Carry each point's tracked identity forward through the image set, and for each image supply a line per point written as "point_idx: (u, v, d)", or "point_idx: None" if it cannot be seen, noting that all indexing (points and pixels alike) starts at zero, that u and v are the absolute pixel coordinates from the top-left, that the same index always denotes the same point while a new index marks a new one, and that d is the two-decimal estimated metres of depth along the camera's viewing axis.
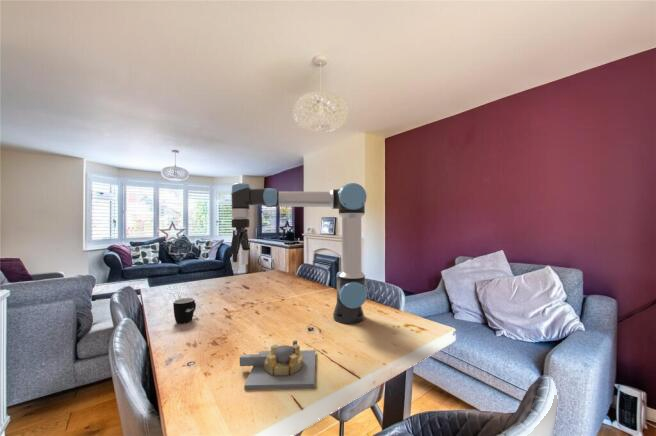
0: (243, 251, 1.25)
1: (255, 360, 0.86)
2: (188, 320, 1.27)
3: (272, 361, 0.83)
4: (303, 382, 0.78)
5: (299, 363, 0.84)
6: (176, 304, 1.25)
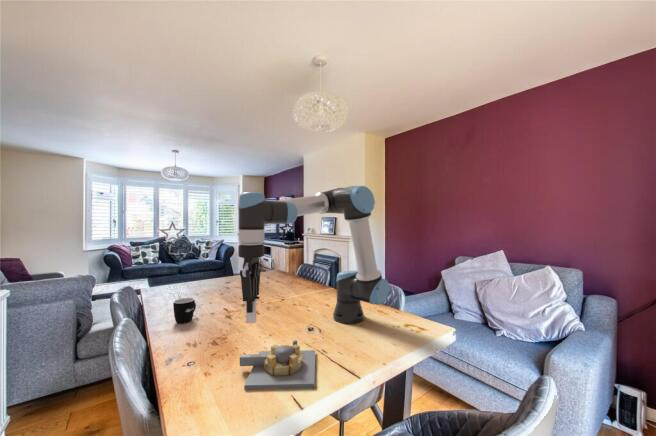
0: None
1: (255, 360, 0.86)
2: (188, 320, 1.27)
3: (272, 361, 0.83)
4: (303, 382, 0.78)
5: (299, 363, 0.84)
6: (176, 304, 1.25)
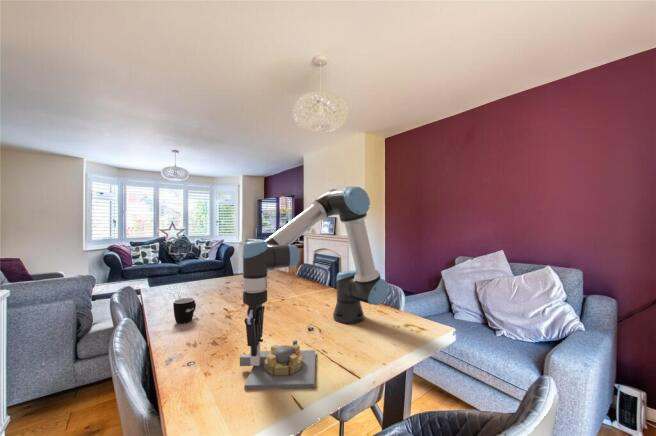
0: None
1: None
2: (188, 320, 1.27)
3: (272, 361, 0.83)
4: (303, 382, 0.78)
5: (299, 363, 0.84)
6: (176, 304, 1.25)
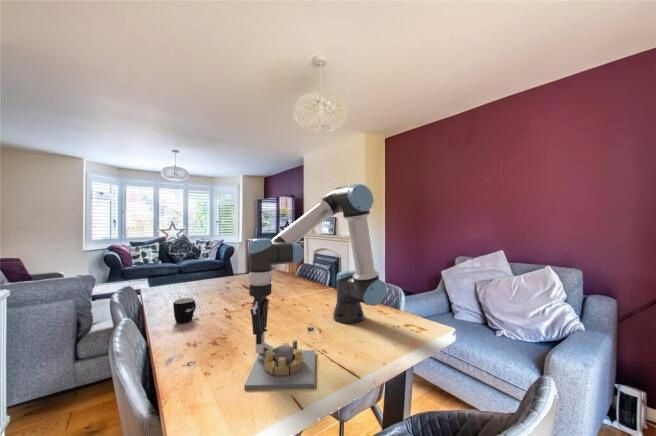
0: None
1: (265, 350, 0.92)
2: (188, 320, 1.27)
3: (267, 356, 0.86)
4: (303, 382, 0.78)
5: (286, 368, 0.81)
6: (176, 304, 1.25)
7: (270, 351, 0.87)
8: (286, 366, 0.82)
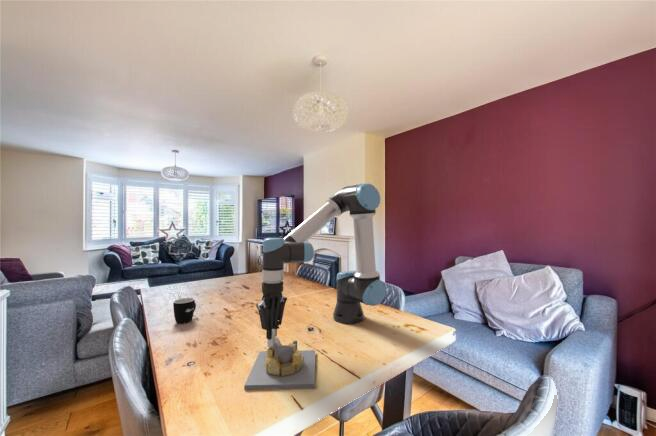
0: None
1: (276, 346, 0.95)
2: (188, 320, 1.27)
3: (269, 352, 0.88)
4: (303, 382, 0.78)
5: (277, 368, 0.81)
6: (176, 304, 1.25)
7: (272, 348, 0.89)
8: (278, 366, 0.81)
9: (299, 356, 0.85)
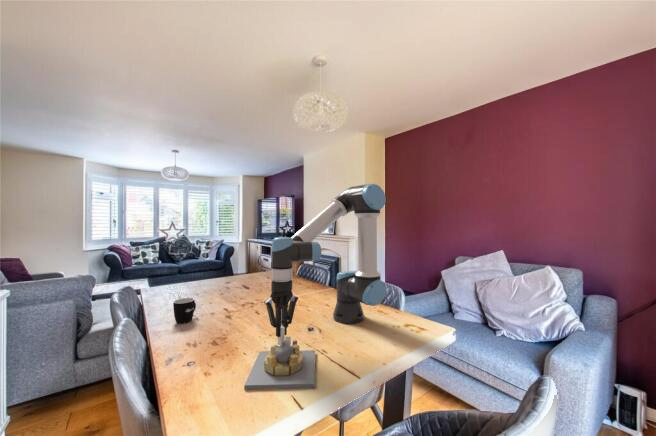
0: None
1: None
2: (188, 320, 1.27)
3: (272, 350, 0.90)
4: (303, 382, 0.78)
5: (271, 367, 0.82)
6: (176, 304, 1.25)
7: (275, 346, 0.90)
8: (272, 365, 0.82)
9: (295, 359, 0.83)
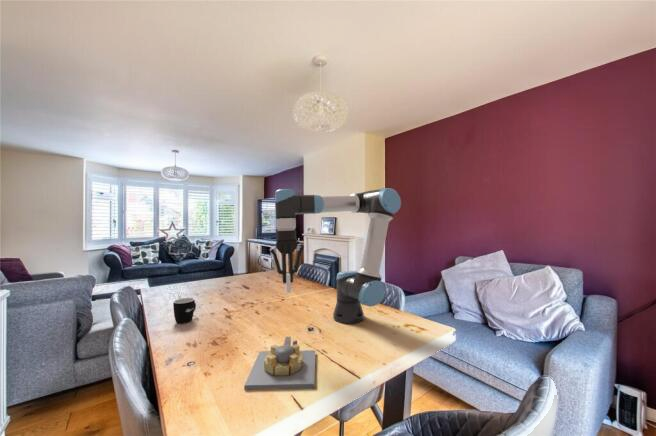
0: None
1: None
2: (188, 320, 1.27)
3: (272, 350, 0.90)
4: (303, 382, 0.78)
5: (271, 367, 0.82)
6: (176, 304, 1.25)
7: (275, 346, 0.90)
8: (272, 365, 0.82)
9: (295, 359, 0.83)
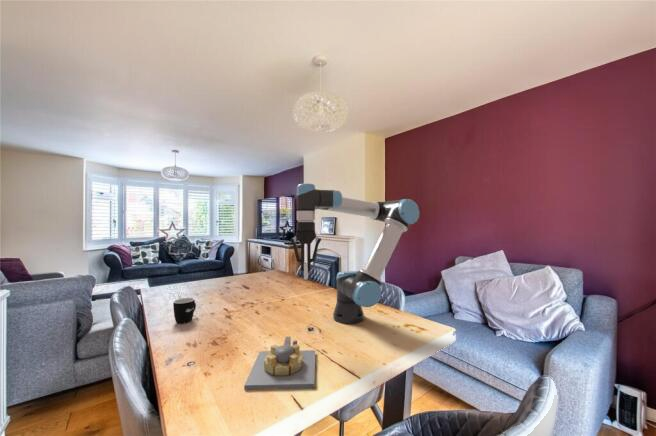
0: None
1: None
2: (188, 320, 1.27)
3: (272, 350, 0.90)
4: (303, 382, 0.78)
5: (271, 367, 0.82)
6: (176, 304, 1.25)
7: (275, 346, 0.90)
8: (272, 365, 0.82)
9: (295, 359, 0.83)
